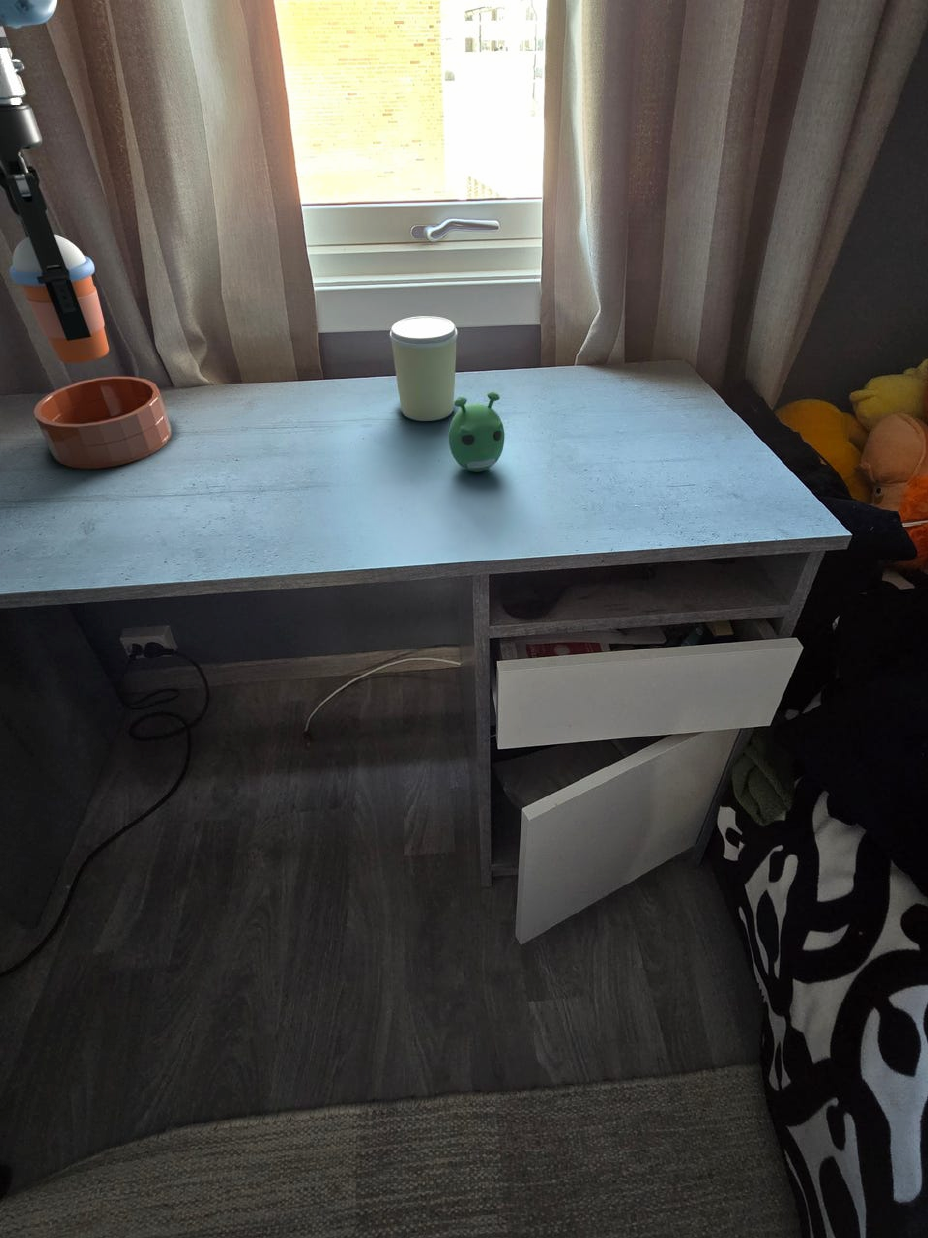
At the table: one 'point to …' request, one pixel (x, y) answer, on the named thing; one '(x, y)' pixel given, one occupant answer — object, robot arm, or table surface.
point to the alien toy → (476, 434)
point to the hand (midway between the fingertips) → (73, 326)
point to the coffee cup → (425, 366)
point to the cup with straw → (42, 306)
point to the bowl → (104, 422)
